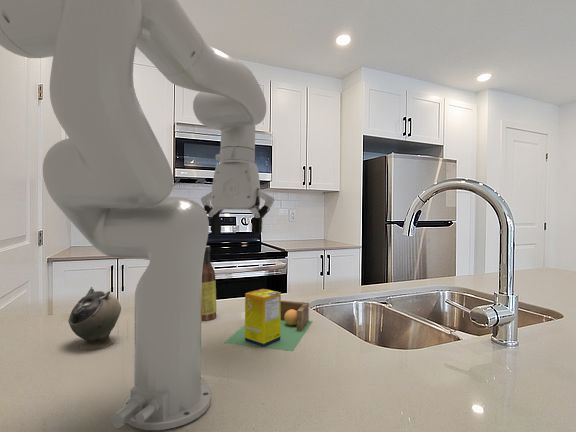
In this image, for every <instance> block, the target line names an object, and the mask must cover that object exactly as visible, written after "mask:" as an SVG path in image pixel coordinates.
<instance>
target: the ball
mask: <svg viewBox="0 0 576 432" xmlns="http://www.w3.org/2000/svg"><path fill="white" fill-rule="evenodd" d="M284 320H285V322H286V323H287V324H288V325H291V326H293V325H296V324H297V311H296V310H293V309H291V310H288V311H287V312H286V313H285V315H284Z"/></svg>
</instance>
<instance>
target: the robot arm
mask: <svg viewBox="0 0 576 432" xmlns="http://www.w3.org/2000/svg"><path fill="white" fill-rule="evenodd" d="M0 46H1V47H2V48H3V49H5V50H7V51H9V52H10V53H12V54H13V55H14V54H15V55H17V56H20V57H23V58H28V59H44V58H50V57H51V58H52V62H51V69H50V77H49V99H50V103H51V107H52V110H53V113H54V115H55V117H56V120H57V121H58V123H59V124H60V126H61V127H62V129H63V131H64V133H65V134H66V135H67V137H68V138H64V139H61V140H59V141H58V142H56V143H55V144H53V145H52V146H51V147H50V148H49V149H48V151H47V152H46V154H45V156H44V158H43V163H42V177H43V181H44V185H45V189H46V190H47V192H48V194H49V196H50V198H51V199H52V201H53V203H55V204H56V206H57V207H58V208H59V210H60V211H61V212H62V213H63V214H64V216H66V217H67V219H69V221H70V222H71V224H73V226H74V227H75V228H76V229H77V230H78V231H79V232H80V233H81V234H82V236H83V237H84V238H85V239H86V240H87V241H88V243H90V244H91V246H92V247H94V248H95V249H96V250H97V251H98V252H100V253H101V254H103V255H105V256H108V257H112V258H117V259H119V258H120V259H128V260H129V259H134V260H135V259H136V260H144V261H145V260H146V261H149V262H148V266H147V267H146V269H145V271H144V272H143V273H142V275H141V276H140V278H139V280H138V282H137V283H136V288H135V292H134V370H133V371H134V373H133V375H134V380H133V381H134V386H133V387H132V388H130V394H129V396H128V397H127V398H126V399H125V401H124V402H123V405H122V407H120V408H119V409H118V410H116V411H115V412H114V413H113V414H111V416H110V422H111V425H112V426H113V427H114V428H116V429H120V428H122V427H123V426H124V425H126V424H128V425H129V426H131V427H133V428H135V429H140V430H145V431H163V430H165V431H166V430H169V429H170V430H171V429H174V428H178V427H181V426H185V425H187V424H189V423H191V422H193V421H195V420H196V419H198V418H200V417H201V416H202V415H204V414H205V412H206V411H207V410H208V409H209V408H210V405H211V402H212V392H211V390H210V387H209V386H207V384H205V383H204V382H202V321H201V308H202V302H201V297H202V270H203V261H204V254H205V249H206V246H207V243H208V238H209V232H211V233H210V235H211V236H220V235H221V234H222V218H221V217H220V216H221V214H222V213H223V212H224V211H225V210H241V211H242V210H243V211H244V210H246V211H247V210H249V211H250V212H251V214H252V215H253V217H252V218H251V237H253V238H257V237H260V236H261V233H262V231H263V219H264V218H265V216H266V215H267V214H268V213H269V212H270V211H271V207H272V206H273V204H274V202H275V198H274V197H272V196H271V195H269V194H267V193H265V192H264V191H262V190H261V184H260V174H259V169H258V165H257V164H256V163H255V159H256V158H255V155H256V153H255V152H256V150H255V149H256V126H257V125H259V124H261V123H262V122H263V121H264V120H265V117H266V114H267V102H266V98H265V94H264V92H263V90H262V88H261V86H260V84H259V81H258V80H257V78H256V76H255V75H254V74H253V72H252V71H251V70H250V68H249V67H248V66H246V64H244V63H243V62H241V61H239V60H238V59H235V58H234V57H232V56H230V55H229V54H227V53H225V52H223V51H221V50H219V49H217V48H215V47H213V46H211V45H208V44H207V43H206V41H205V40H204V38H203V37H202V35H201V33H199V31H198V30H197V28H196V26H195V25H194V24H193V21H192V20H191V18H190V17H189V15H188V14H187V13H186V11H185V10H184V8H183V6H182V5H181V4H180V2H179V1H178V0H0ZM136 48H137V49H138V50H139V51H140V52H141V53H142V54H143V55H144V57H146V59H148V60H149V62H150V63H151V64H153V65H154V67H155V68H156V69H157V70H158V71H159V72H160V73H161V74H162V75H163V76H164V77H165V78H166V80H167V81H169V82H170V83H171V84H173V85H174V86H177V87H179V88H184V89H187V90H191V91H195V92H198V93H197V94H196V95H195V96H194V98H193V101H192V109H193V112H194V113H193V114H194V115H195V118H196V119H197V120H198V121H199V123H200V124H202V125H203V126H205V127H206V128H210V129H214V130H217V131H218V130H219V131H220V150H219V153H218V154H215V156H214V157H215V160H216V161H219V163H216V166H215V169H214V174H213V179H212V187H211V192H209V193H207V194H206V195H204V196H202V197H201V198H200V202H201V204H202V205H201V204H199V202H197V201H195V200H193V199H190V198H186V197H181V196H170V194H171V192H172V191H173V188H174V176H173V172H172V171H173V170H172V169H171V164H170V163H169V162H168V159H167V157H166V155H165V153H164V151H163V148H162V147H161V145H160V143H159V141H158V139H157V136H156V135H155V133H154V131H153V129H152V127H151V125H150V123H149V121H148V118H147V117H146V115H145V113H144V110H143V108H142V105H141V104H140V101H139V100H138V97H137V94H136V91H135V86H134V61H135V54H136ZM261 199H262V200H264V205H263V206H262V207H261V208H260V205H261ZM209 218H210V221H209ZM209 228H210V229H209ZM209 230H210V231H209Z"/></svg>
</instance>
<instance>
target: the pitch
mask: <svg viewBox="0 0 576 432" xmlns="http://www.w3.org/2000/svg"><path fill="white" fill-rule="evenodd" d="M312 323H313V320H308V323H307V324H306V326H305V327H304V329H303V330H302V332H299V331H297V324H296V325H293V326H291V325H288V324H287V323H286V322H285V321H282V320H281V333H280V340H278V341H276V342H273V343H271V344H269V345H267V346H265V347H262V346H258V345H255V344H252V343H250V342H246V341H245V324H244V325H243V326H242V327H240V329H239V330H237V331H236V332H235V333H233V334H232V335H231V336H229V337H228V338H227V339H226V340H224V342H223V343H224V344H229V345H239V346H245V347H246V346H248V347H255V348H263V349H272V350H279V351H280V350H281V351H289V352H294V351H295V349H296V347H297V346H298V344H299V343H300V342H301V340H302V339H303V336H305V334H306V332H307V331H308V329H309V328H310V326H311V325H312Z"/></svg>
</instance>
